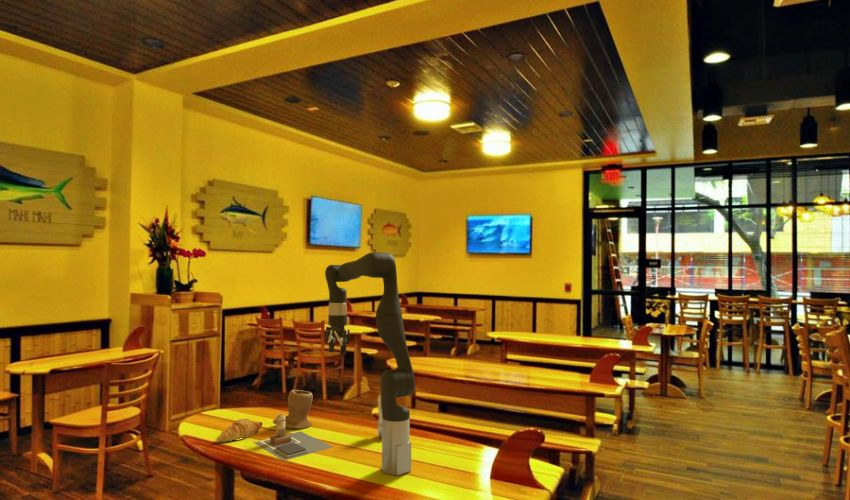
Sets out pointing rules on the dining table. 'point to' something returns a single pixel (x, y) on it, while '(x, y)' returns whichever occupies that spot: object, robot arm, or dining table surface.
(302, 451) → the desk board
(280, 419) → the stamp
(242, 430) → the croissant
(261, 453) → the dining table surface
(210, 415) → the dining table surface
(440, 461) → the dining table surface
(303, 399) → the tan boot
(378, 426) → the plastic bottle
